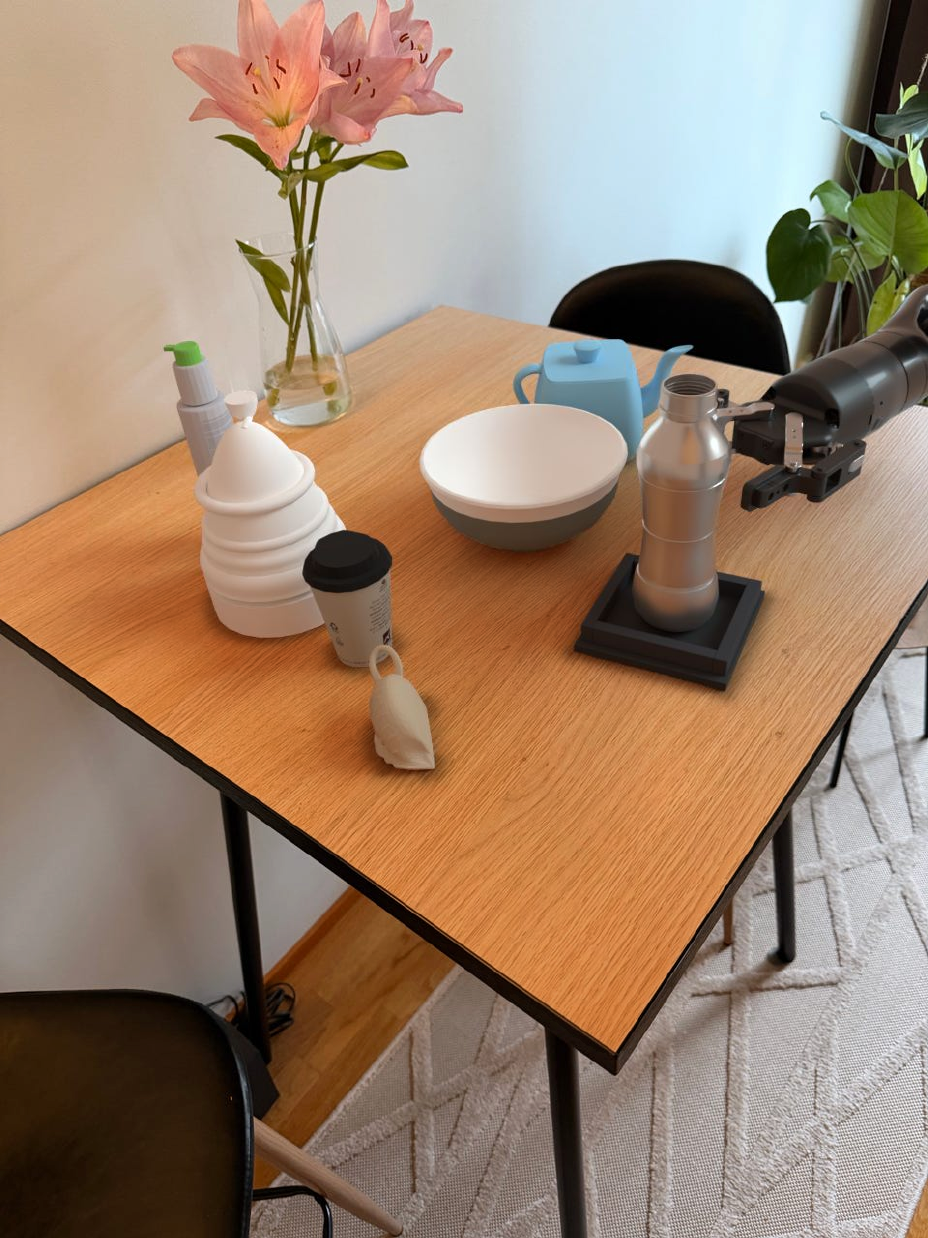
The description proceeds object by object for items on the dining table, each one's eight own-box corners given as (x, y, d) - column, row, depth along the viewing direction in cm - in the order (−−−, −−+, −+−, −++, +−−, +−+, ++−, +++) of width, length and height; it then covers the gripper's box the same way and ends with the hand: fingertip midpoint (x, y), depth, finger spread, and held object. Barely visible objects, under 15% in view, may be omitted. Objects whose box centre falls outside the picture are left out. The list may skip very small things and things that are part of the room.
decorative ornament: (377, 779, 64) (365, 726, 60) (373, 697, 70) (362, 645, 67) (434, 771, 64) (426, 718, 60) (425, 690, 70) (417, 638, 67)
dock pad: (764, 598, 75) (767, 576, 74) (725, 691, 67) (728, 668, 66) (625, 568, 80) (626, 546, 79) (573, 651, 72) (573, 629, 71)
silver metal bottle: (698, 652, 70) (722, 414, 57) (617, 627, 73) (622, 396, 60) (727, 605, 74) (755, 372, 61) (649, 583, 77) (660, 358, 64)
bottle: (241, 525, 91) (185, 332, 79) (274, 536, 89) (221, 339, 77) (210, 548, 88) (147, 351, 76) (243, 559, 86) (184, 359, 74)
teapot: (693, 470, 92) (702, 363, 84) (515, 478, 94) (509, 373, 86) (679, 414, 101) (686, 313, 94) (517, 422, 103) (512, 323, 96)
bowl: (656, 561, 80) (660, 480, 75) (450, 603, 78) (440, 523, 73) (588, 462, 95) (588, 389, 90) (413, 495, 93) (403, 422, 87)
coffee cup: (421, 655, 73) (405, 554, 67) (343, 689, 71) (319, 588, 65) (384, 611, 78) (366, 513, 72) (310, 642, 76) (284, 543, 70)
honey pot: (224, 558, 87) (169, 382, 75) (358, 543, 87) (323, 364, 75) (204, 645, 77) (137, 457, 65) (355, 628, 77) (315, 437, 65)
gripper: (767, 334, 76) (628, 400, 69) (927, 384, 66) (786, 466, 59) (756, 416, 80) (626, 486, 73) (905, 474, 71) (772, 559, 64)
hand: (698, 477), depth 66 cm, fingers open, 8 cm apart
